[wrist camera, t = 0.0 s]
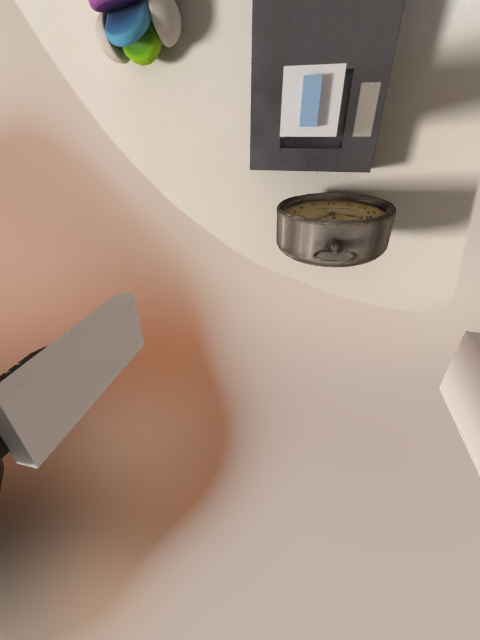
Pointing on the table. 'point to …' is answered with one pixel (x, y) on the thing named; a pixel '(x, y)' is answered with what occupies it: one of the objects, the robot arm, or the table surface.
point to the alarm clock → (334, 228)
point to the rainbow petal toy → (136, 28)
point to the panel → (313, 49)
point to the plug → (311, 100)
